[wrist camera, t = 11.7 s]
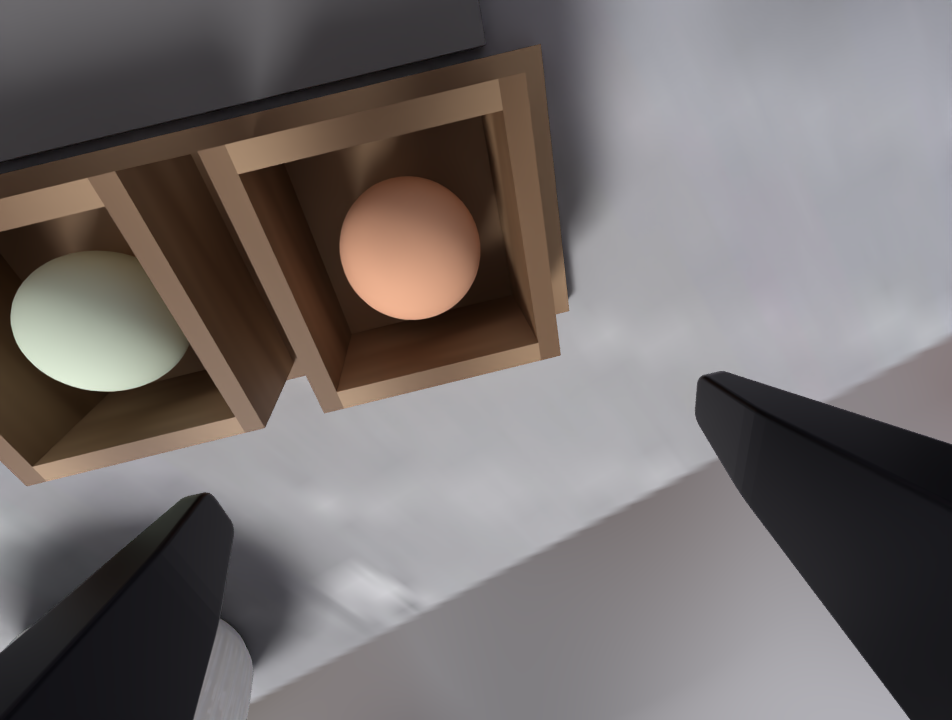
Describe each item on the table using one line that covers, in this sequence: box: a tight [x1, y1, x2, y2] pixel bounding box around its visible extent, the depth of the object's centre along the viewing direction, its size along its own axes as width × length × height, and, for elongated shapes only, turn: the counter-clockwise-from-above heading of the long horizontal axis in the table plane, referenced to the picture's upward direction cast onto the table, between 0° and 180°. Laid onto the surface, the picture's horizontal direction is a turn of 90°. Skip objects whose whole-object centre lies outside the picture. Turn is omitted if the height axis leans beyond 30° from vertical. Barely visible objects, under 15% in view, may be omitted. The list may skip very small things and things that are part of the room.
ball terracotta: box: [340, 176, 480, 320], centre depth 13 cm, size 4×4×4 cm
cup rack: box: [0, 44, 569, 486], centre depth 13 cm, size 19×8×4 cm, turn 102°
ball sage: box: [11, 250, 190, 391], centre depth 13 cm, size 4×4×4 cm
